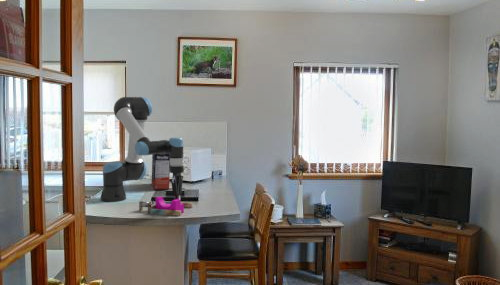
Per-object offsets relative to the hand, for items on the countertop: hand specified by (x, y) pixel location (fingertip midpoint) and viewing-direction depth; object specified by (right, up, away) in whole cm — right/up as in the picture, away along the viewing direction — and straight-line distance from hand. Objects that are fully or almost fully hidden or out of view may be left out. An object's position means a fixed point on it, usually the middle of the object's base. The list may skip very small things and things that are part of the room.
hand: (177, 206), depth 234 cm
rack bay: (-3, -2, +1) cm, 4 cm away
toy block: (-4, -2, -2) cm, 5 cm away
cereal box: (-24, +4, +69) cm, 73 cm away
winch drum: (-18, -2, 0) cm, 18 cm away
